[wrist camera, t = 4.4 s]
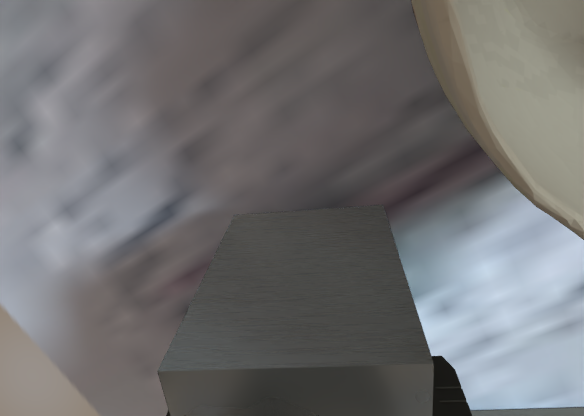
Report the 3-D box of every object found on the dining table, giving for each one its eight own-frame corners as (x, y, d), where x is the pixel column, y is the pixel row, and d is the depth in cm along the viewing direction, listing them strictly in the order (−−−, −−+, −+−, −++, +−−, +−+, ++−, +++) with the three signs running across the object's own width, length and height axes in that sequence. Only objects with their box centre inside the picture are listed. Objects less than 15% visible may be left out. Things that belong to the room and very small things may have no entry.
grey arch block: (234, 214, 13) (157, 371, 7) (383, 204, 13) (433, 363, 7) (267, 407, 16) (233, 629, 10) (387, 405, 16) (426, 637, 10)
